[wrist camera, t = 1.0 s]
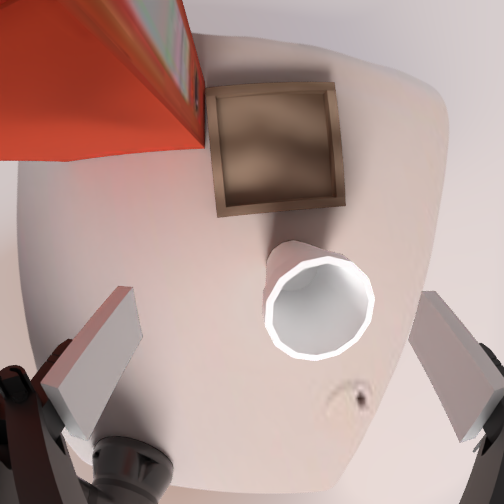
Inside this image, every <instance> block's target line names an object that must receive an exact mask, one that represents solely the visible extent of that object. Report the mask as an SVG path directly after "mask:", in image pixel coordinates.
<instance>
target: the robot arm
mask: <svg viewBox="0 0 504 504" xmlns="http://www.w3.org/2000/svg"><path fill="white" fill-rule="evenodd" d="M142 337H143V335H142V330H141V326H140V321H139V317H138V312H137V307H136V302H135V297H134V291H133V287H124V286H118V287H117V288H116V289H115V290H114V291H113V293H112V294H111V295H110V296H109V297H108V298H107V299H106V301H105V302H104V303H103V304H102V305H101V307H100V308H99V309H98V310H97V311H96V312H95V314H94V315H93V316H92V317H91V318H90V320H89V321H88V322H87V323H86V325H85V326H84V327H83V328H82V329H81V331H80V332H79V333H78V334H77V336H76V337H75V338H74V339H73V340H72V339H67V340H66V341H64V342H63V343H61V344H60V345H59V346H58V347H57V348H56V349H55V350H54V352H53V353H52V355H50V357H49V358H48V359H47V362H45V363H44V364H43V365H42V367H41V368H40V369H39V371H38V372H37V373H36V375H35V376H34V377H33V378H32V380H31V381H30V379H29V377H28V376H27V374H26V372H25V370H24V369H23V368H22V367H21V366H17V365H12V366H8V367H5V368H3V369H2V370H1V371H0V504H158V502H159V500H160V499H161V497H162V495H163V494H164V492H165V491H166V489H167V488H168V486H169V485H170V483H171V480H172V475H173V466H172V464H171V462H170V460H169V459H168V458H167V457H166V456H165V455H164V454H163V453H161V452H160V451H159V450H157V449H155V448H154V447H152V446H150V445H148V444H146V443H143V442H141V441H138V440H134V439H130V438H125V437H107V438H104V439H101V440H100V441H99V442H98V443H97V444H96V446H95V449H94V452H93V456H92V458H93V478H94V480H93V483H92V484H90V483H88V482H87V481H85V480H83V479H82V478H80V477H78V476H77V475H76V473H75V470H74V467H73V464H72V461H71V458H70V455H69V452H68V449H67V446H66V442H65V439H64V437H63V435H62V433H61V432H62V430H63V428H64V427H66V429H67V430H68V432H69V433H70V435H71V436H74V437H77V438H80V439H83V440H86V441H88V440H89V438H90V436H91V434H92V432H93V430H94V428H95V426H96V424H97V422H98V420H99V418H100V416H101V414H102V412H103V410H104V408H105V406H106V404H107V402H108V400H109V398H110V396H111V394H112V392H113V391H114V389H115V387H116V385H117V383H118V381H119V379H120V377H121V375H122V374H123V372H124V370H125V368H126V366H127V364H128V362H129V361H130V359H131V357H132V355H133V353H134V351H135V350H136V348H137V346H138V344H139V342H140V341H141V339H142ZM408 340H409V342H410V344H411V346H412V347H413V349H414V351H415V353H416V355H417V357H418V359H419V360H420V362H421V364H422V366H423V368H424V370H425V372H426V374H427V375H428V377H429V379H430V381H431V383H432V385H433V387H434V389H435V391H436V393H437V395H438V397H439V399H440V401H441V403H442V405H443V407H444V409H445V411H446V414H447V416H448V418H449V420H450V422H451V424H452V426H453V428H454V431H455V433H456V435H457V437H458V440H459V442H460V443H461V442H464V441H467V440H470V439H473V438H475V437H476V436H477V435H478V433H479V432H480V431H481V429H482V428H483V429H484V431H485V433H486V434H485V435H484V437H483V438H482V439H481V440H480V442H479V443H478V444H477V446H476V447H475V448H474V450H473V452H475V451H476V450H477V449H478V448H479V451H478V454H477V457H476V460H475V463H474V466H473V469H472V472H471V475H470V478H469V480H468V483H467V486H466V488H465V491H464V493H463V496H462V498H461V500H460V503H459V504H504V367H503V366H501V363H500V361H499V360H498V359H497V358H496V356H495V355H494V353H493V352H492V351H491V350H490V349H489V348H488V347H486V346H485V345H484V344H482V343H478V342H477V341H476V339H475V338H474V337H473V336H472V334H471V333H470V332H469V331H468V329H467V328H466V327H465V326H464V324H463V323H462V322H461V321H460V320H459V318H458V317H457V316H456V315H455V314H454V313H453V311H452V310H451V309H450V308H449V306H448V305H447V304H446V303H445V302H444V301H443V299H442V298H441V297H440V296H439V295H438V294H437V293H436V291H422V292H421V296H420V300H419V304H418V308H417V312H416V315H415V319H414V322H413V326H412V329H411V332H410V336H409V339H408Z"/></svg>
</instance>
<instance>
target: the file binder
mask: <svg viewBox="0 0 504 504" xmlns="http://www.w3.org/2000/svg"><path fill="white" fill-rule="evenodd" d="M202 148H205V82H204V78H203V74H202V71H201V67H200V63H199V60H198V56H197V52H196V49H195V45H194V42H193V38H192V34H191V31H190V27H189V24H188V20H187V16H186V12H185V9H184V5H183V2H182V0H0V161H61V162H68V161H75V160H81V159H89V158H96V157H104V156H112V155H121V154H131V153H142V152H153V151H167V150H182V149H202Z"/></svg>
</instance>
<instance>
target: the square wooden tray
mask: <svg viewBox="0 0 504 504" xmlns="http://www.w3.org/2000/svg"><path fill="white" fill-rule="evenodd" d="M205 94H206V106H207V118H208V129H209V140H210V151H211V161H212V171H213V181H214V191H215V200H216V209H217V218H219V217H228V216H238V215H247V214H257V213H268V212H278V211H290V210H301V209H313V208H325V207H339V206H346V202H345V184H344V169H343V156H342V144H341V133H340V124H339V115H338V106H337V98H336V90H335V83H334V82H274V83H254V84H239V85H228V86H218V87H209V88H205Z"/></svg>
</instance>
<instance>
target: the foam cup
mask: <svg viewBox="0 0 504 504" xmlns="http://www.w3.org/2000/svg"><path fill="white" fill-rule="evenodd" d="M374 302H375V297H374V294H373V290H372V287H371V284H370V280H369V277H368V276H367V275H365V274H364V273H363V272H362V271H361V270H360V269H359V268H358V267H357V266H356V265H355V264H354V263H353V262H352V261H350V260H349V259H348V258H347V257H345V256H344V255H343V254H339V253H335V252H331V251H328V250H324V249H321V248H318V247H315V246H313V245H310V244H307V243H303V242H300V241H296V240H292V241H288V242H283V243H281V244H280V245H278V246H277V247H276V248H274V249H273V250H272V252H271V254H270V256H269V257H268V259H267V266H266V286H265V288H264V290H263V304H262V315H263V320H264V324H265V327H266V329H267V331H268V333H269V335H270V337H271V339H272V341H273V343H274V345H275V346H276V347H278V348H279V349H281V350H282V351H284V352H285V353H286V354H288V355H289V356H291V357H292V358H297V359H304V360H311V361H318V360H321V359H325V358H329V357H333V356H337V355H339V354H341V353H342V352H343V351H345V350H346V349H348V348H349V347H350V346H352V345H353V344H355V343H356V342H357V341H358V340H359V339H360V337H361V336H362V334H363V333H364V331H365V330H366V328H367V327H368V325H369V323H370V322H371V318H372V313H373V307H374Z"/></svg>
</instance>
